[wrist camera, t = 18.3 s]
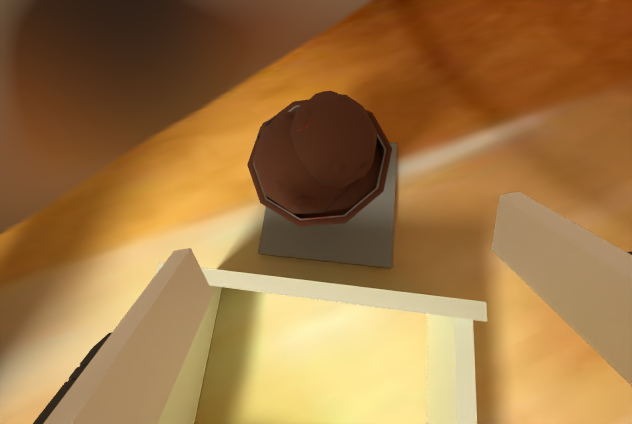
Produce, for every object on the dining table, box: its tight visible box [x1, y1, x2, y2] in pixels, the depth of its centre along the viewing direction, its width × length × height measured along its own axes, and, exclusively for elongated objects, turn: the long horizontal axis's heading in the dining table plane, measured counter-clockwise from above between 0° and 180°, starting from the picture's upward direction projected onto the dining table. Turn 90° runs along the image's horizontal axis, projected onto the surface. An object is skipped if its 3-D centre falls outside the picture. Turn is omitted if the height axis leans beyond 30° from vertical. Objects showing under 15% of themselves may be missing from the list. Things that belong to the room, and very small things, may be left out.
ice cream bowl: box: [247, 91, 392, 227], centre depth 22 cm, size 11×11×15 cm
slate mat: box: [258, 143, 397, 268], centre depth 29 cm, size 14×14×1 cm
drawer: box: [156, 262, 487, 424], centre depth 20 cm, size 23×19×9 cm
